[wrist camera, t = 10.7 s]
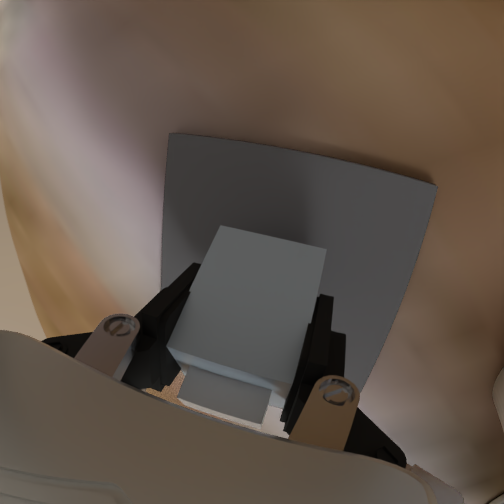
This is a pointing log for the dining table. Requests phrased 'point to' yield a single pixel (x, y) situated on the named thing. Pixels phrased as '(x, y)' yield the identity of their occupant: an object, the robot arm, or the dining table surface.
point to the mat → (303, 224)
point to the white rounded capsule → (499, 396)
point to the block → (245, 324)
